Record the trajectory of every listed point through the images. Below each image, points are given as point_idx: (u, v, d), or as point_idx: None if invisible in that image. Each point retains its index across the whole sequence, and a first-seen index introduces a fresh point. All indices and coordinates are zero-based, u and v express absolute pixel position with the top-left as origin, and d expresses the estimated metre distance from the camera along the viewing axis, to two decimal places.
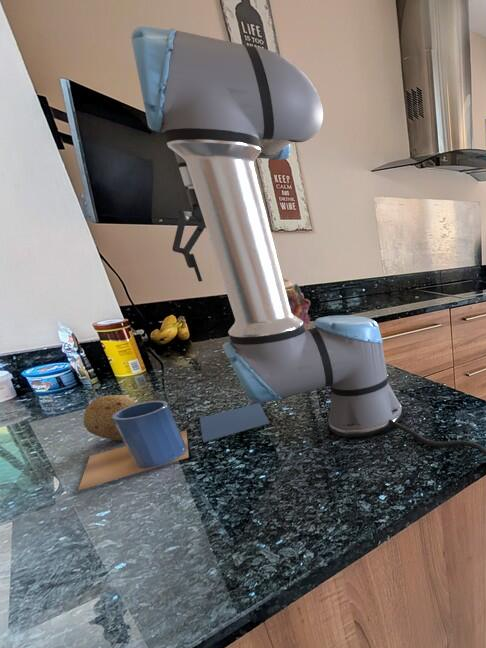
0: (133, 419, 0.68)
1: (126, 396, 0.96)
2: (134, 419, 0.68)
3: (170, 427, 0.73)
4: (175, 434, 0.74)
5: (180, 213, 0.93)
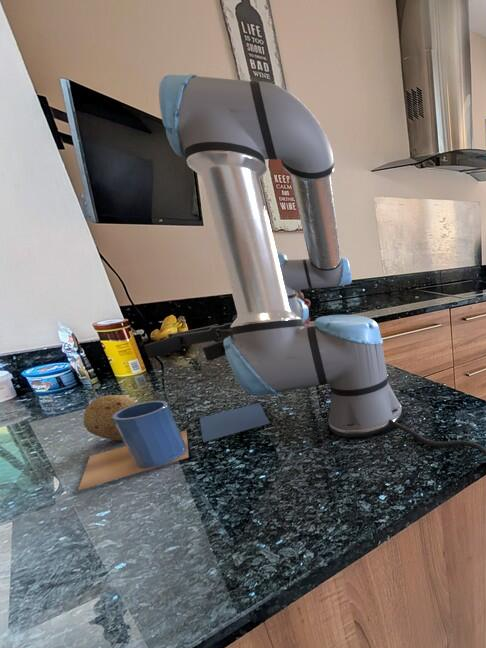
0: (133, 419, 0.68)
1: (126, 396, 0.96)
2: (134, 419, 0.68)
3: (170, 427, 0.73)
4: (175, 434, 0.74)
5: (214, 324, 0.92)
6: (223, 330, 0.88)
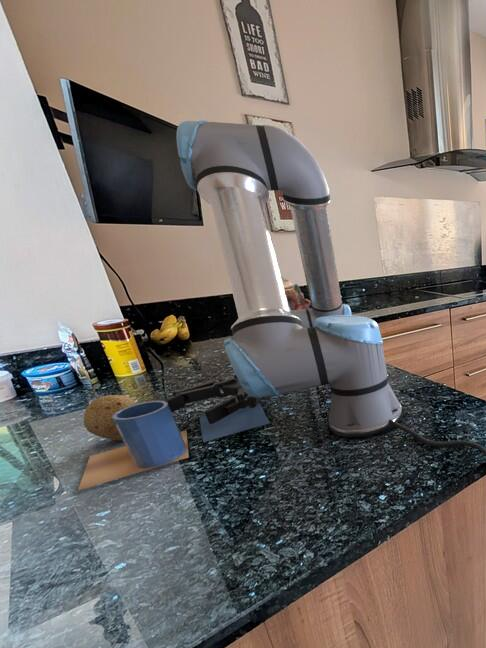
0: (133, 419, 0.68)
1: (126, 396, 0.96)
2: (134, 419, 0.68)
3: (170, 427, 0.73)
4: (175, 434, 0.74)
5: (218, 378, 0.93)
6: (226, 386, 0.89)
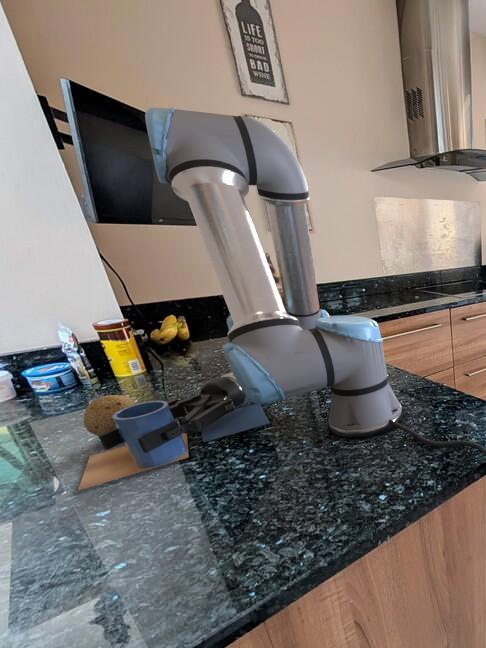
0: (133, 419, 0.68)
1: (126, 396, 0.96)
2: (134, 419, 0.68)
3: None
4: None
5: (177, 397, 0.84)
6: (189, 404, 0.81)
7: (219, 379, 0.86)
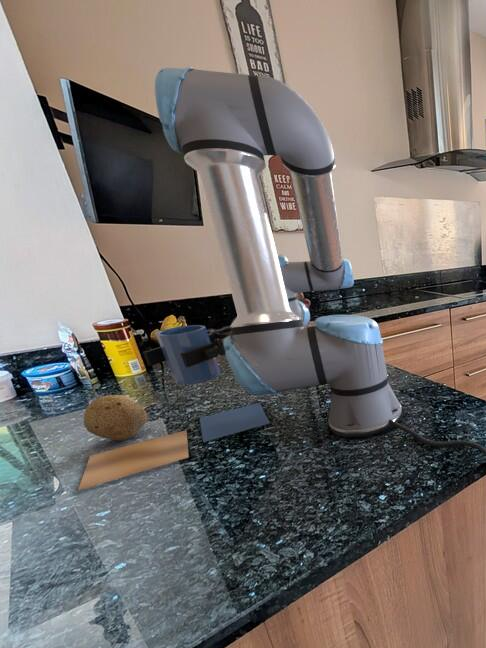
0: (176, 335, 0.73)
1: (126, 396, 0.96)
2: (177, 335, 0.73)
3: None
4: None
5: (210, 329, 0.89)
6: (222, 333, 0.86)
7: None
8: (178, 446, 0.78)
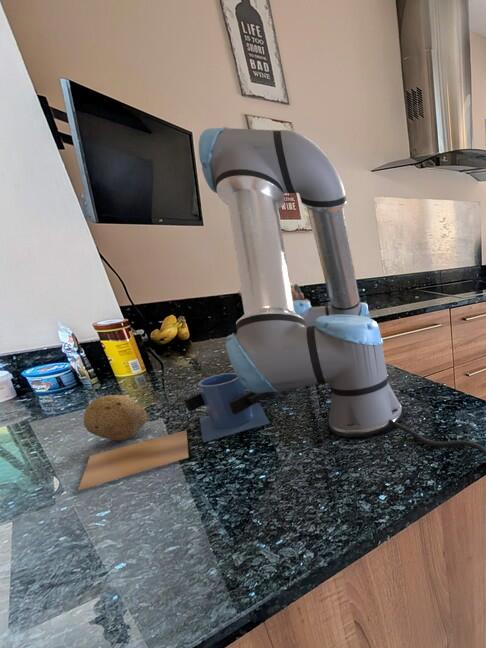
0: (216, 386, 0.81)
1: (126, 396, 0.96)
2: (217, 386, 0.81)
3: None
4: None
5: None
6: None
7: None
8: (178, 446, 0.78)
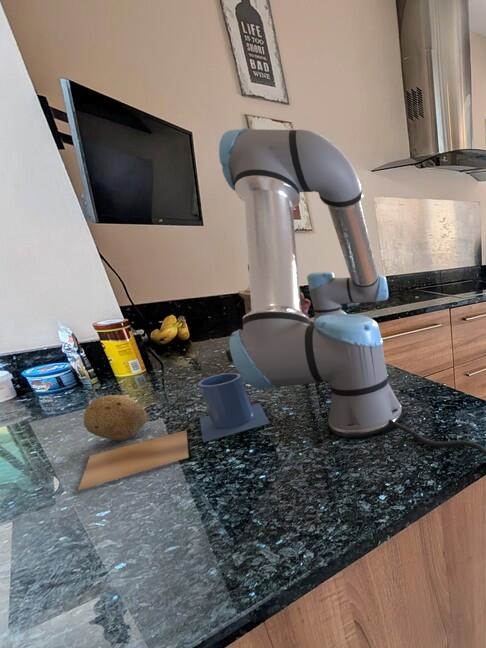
0: (216, 386, 0.81)
1: (126, 396, 0.96)
2: (217, 386, 0.81)
3: (243, 395, 0.86)
4: (246, 401, 0.87)
5: None
6: None
7: None
8: (178, 446, 0.78)
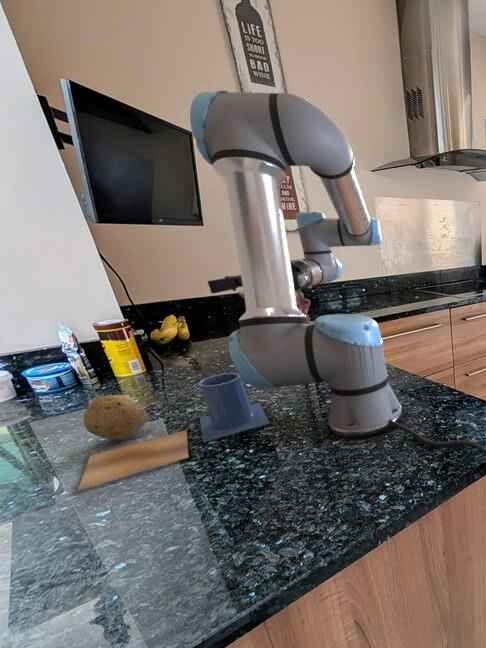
0: (216, 386, 0.81)
1: (126, 396, 0.96)
2: (217, 386, 0.81)
3: (243, 395, 0.86)
4: (246, 401, 0.87)
5: None
6: None
7: (293, 260, 1.04)
8: (178, 446, 0.78)
